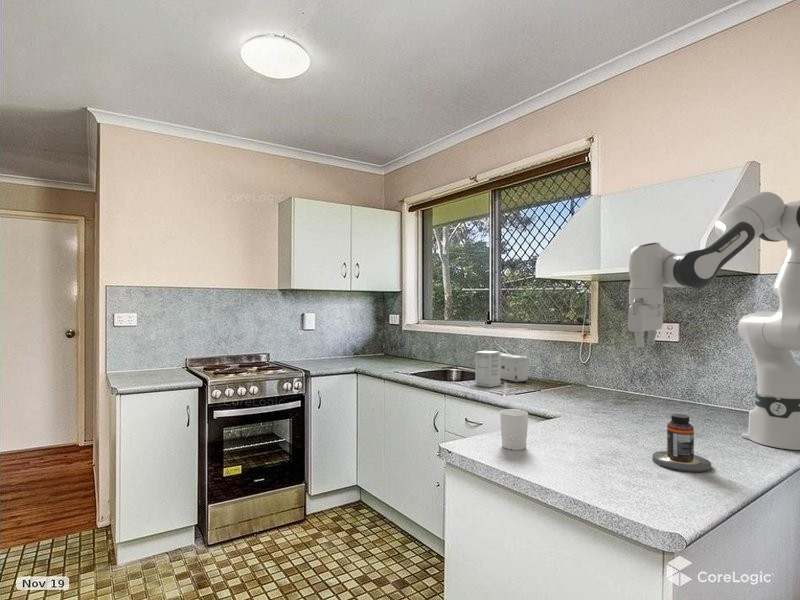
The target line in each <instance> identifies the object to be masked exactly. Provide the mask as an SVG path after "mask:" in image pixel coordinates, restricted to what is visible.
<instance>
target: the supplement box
mask: <svg viewBox="0 0 800 600" xmlns="http://www.w3.org/2000/svg"><path fill="white" fill-rule="evenodd" d="M500 353H501V351H496V350H480V351H475V354H474V355H475V356H474V357H475V359H474V360H475V361H474V362H475V367H474V368H475V369H474V370H475V374H474V375H475V379H474V380H475V386H479V387H486V388H487V387H488V388H493V387H498V386H501V385H502V381H501V380H502V379H501V369H500Z"/></svg>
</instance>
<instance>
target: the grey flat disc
mask: <svg viewBox="0 0 800 600" xmlns="http://www.w3.org/2000/svg"><path fill="white" fill-rule="evenodd" d="M652 461H653V463H654V464H656V465H658V466H660V467H663V468H664V469H665V468H666V469H668V470H672V471H676V472H681V473H688V474H689V473H690V474H691V473H692V474H694V473H695V474H702V473H703V474H704V473H708V472H710V471H711V470H712V463H711V461H710V460H709V459H707V458H705V457H702V456H699V455H696V454H694V459H693V461H691V462H679V461H675V460H672V459H670V458H669V457H668V456H667V450H662V451H656V452H653V453H652Z"/></svg>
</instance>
